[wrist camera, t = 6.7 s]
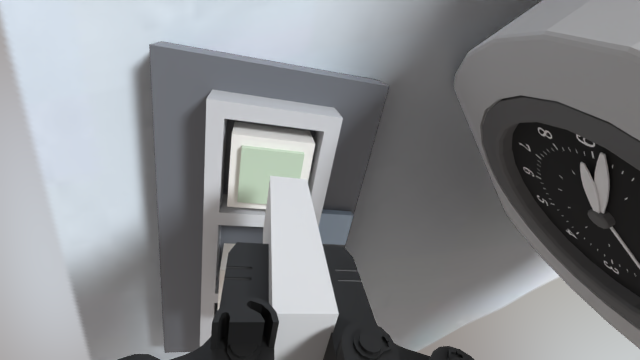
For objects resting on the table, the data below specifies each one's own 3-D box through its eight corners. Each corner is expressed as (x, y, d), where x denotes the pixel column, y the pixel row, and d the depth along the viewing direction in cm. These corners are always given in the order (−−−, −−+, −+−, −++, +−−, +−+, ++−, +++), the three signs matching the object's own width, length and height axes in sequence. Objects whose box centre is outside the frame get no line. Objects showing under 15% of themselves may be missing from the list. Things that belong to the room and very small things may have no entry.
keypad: (161, 41, 16) (133, 48, 12) (377, 79, 19) (404, 94, 15) (171, 329, 25) (156, 379, 22) (313, 326, 28) (320, 369, 25)
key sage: (234, 121, 16) (231, 136, 14) (309, 130, 17) (316, 146, 15) (230, 187, 18) (226, 209, 16) (298, 193, 19) (303, 214, 17)
